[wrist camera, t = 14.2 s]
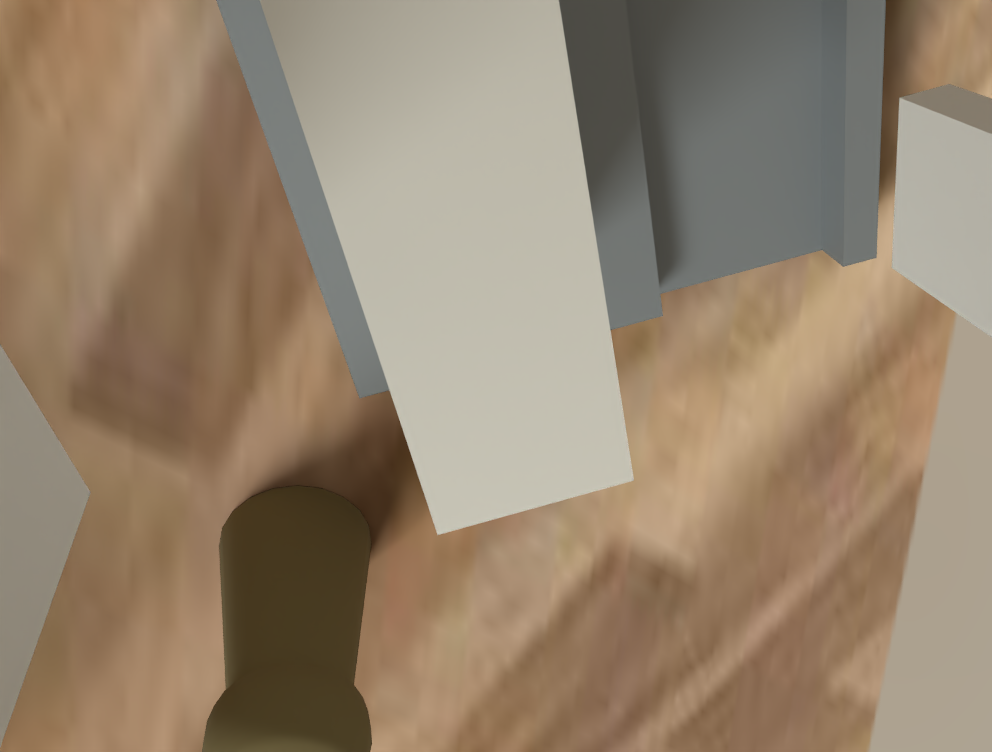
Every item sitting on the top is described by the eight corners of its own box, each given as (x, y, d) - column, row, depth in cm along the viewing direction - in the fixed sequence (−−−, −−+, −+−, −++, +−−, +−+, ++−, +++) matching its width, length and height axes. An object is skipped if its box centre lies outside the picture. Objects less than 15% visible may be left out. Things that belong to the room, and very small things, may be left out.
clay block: (398, 298, 29) (437, 534, 19) (250, -186, 22) (184, -226, 11) (526, 264, 29) (633, 480, 19) (423, -229, 22) (510, -305, 12)
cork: (248, 613, 36) (223, 872, 27) (196, 508, 33) (146, 760, 24) (387, 577, 37) (408, 820, 27) (348, 469, 34) (357, 703, 24)
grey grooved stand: (357, 361, 31) (359, 398, 29) (130, -284, 21) (108, -300, 19) (839, 231, 32) (876, 257, 30) (846, -457, 22) (903, -492, 19)
